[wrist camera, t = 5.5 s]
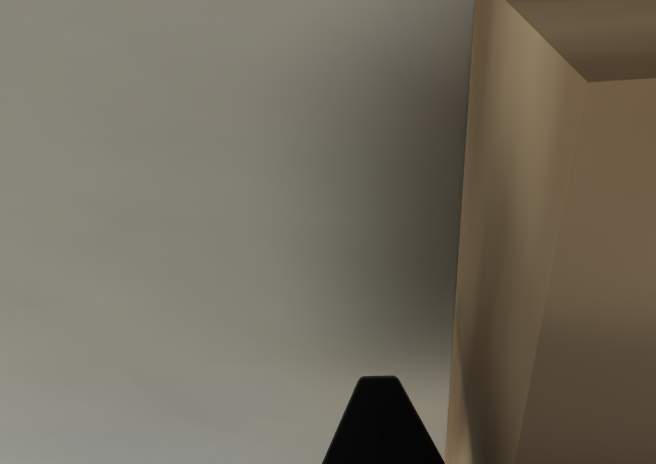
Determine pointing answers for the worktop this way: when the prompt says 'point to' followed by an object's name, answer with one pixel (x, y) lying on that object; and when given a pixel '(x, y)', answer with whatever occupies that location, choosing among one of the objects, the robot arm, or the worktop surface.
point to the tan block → (557, 237)
